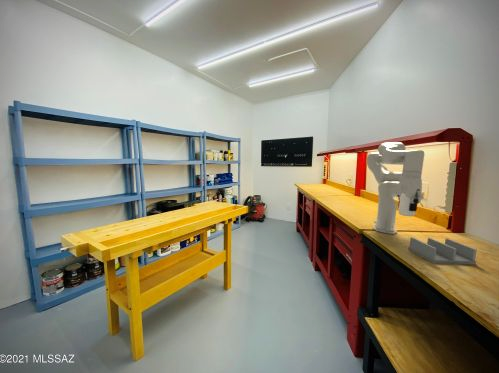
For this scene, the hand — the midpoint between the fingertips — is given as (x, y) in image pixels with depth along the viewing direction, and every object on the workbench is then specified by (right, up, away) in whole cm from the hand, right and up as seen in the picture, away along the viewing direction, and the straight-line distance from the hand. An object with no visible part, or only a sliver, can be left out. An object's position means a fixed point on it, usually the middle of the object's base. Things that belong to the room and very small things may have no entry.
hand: (406, 208), depth 98 cm
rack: (+6, -21, -11) cm, 24 cm away
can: (0, -3, 0) cm, 3 cm away
